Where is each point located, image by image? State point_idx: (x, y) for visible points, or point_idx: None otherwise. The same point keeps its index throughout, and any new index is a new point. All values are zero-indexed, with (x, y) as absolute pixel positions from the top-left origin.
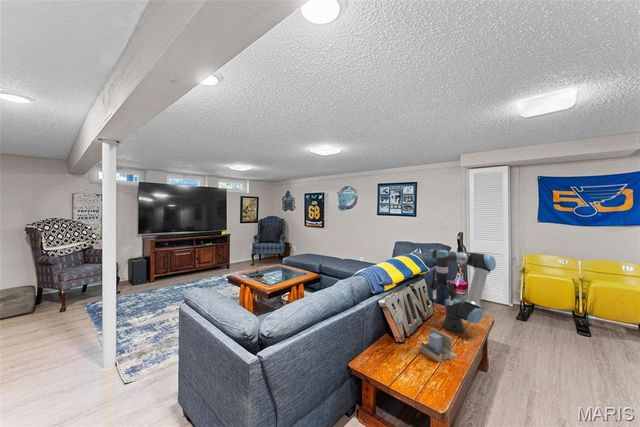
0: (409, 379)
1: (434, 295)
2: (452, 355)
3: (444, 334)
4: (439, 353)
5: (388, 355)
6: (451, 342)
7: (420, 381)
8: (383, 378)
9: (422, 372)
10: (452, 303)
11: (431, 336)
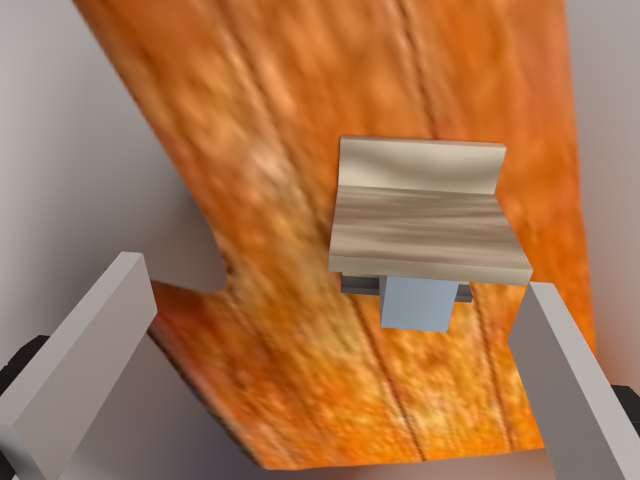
0: (446, 414)
1: (118, 346)
2: (488, 175)
3: (468, 272)
4: (471, 296)
5: (290, 376)
6: (520, 249)
7: (479, 399)
8: (389, 454)
9: (452, 363)
10: (559, 307)
11: (407, 327)
